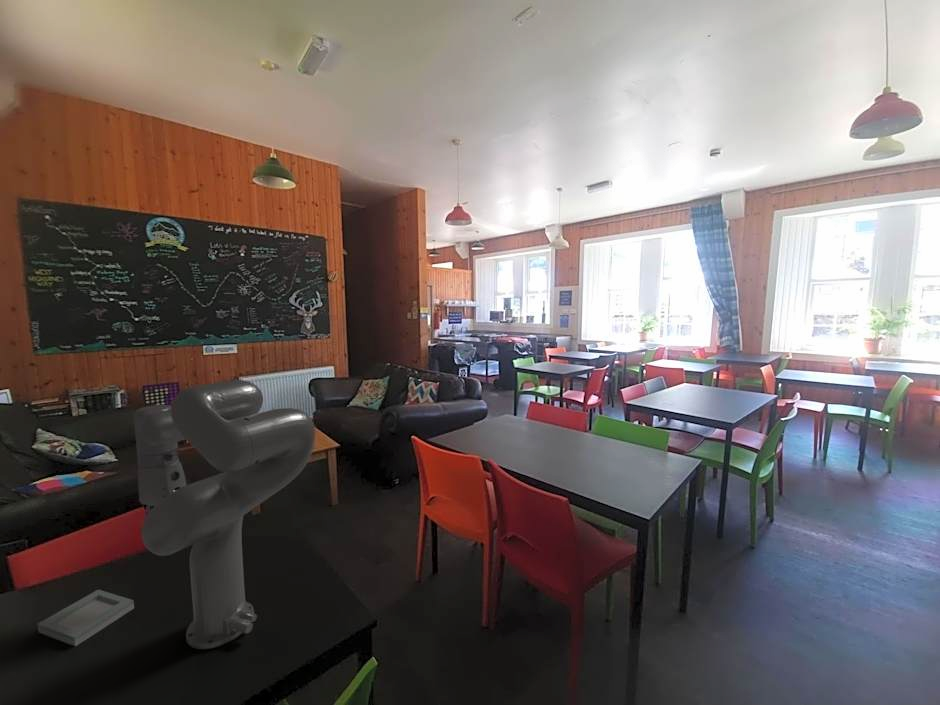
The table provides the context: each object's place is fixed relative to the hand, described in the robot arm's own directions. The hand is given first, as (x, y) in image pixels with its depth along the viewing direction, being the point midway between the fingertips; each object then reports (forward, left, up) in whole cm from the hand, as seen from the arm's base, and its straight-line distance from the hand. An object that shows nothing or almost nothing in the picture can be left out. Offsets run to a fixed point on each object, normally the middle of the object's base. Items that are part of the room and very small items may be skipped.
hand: (165, 530), depth 95 cm
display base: (+9, +11, -16) cm, 22 cm away
